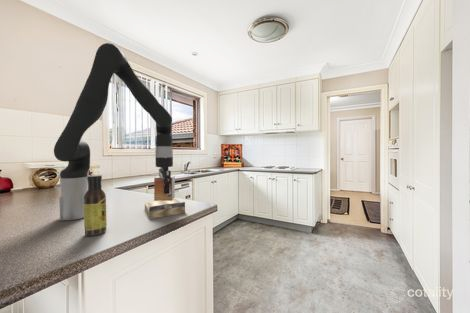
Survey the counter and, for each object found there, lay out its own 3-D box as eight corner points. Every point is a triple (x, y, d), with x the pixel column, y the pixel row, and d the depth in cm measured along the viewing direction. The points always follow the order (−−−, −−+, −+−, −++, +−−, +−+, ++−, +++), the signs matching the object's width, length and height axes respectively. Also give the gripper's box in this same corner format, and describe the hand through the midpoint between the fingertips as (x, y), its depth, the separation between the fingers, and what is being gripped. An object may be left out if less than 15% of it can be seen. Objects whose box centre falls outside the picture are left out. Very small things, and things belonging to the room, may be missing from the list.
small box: (154, 201, 89) (153, 177, 89) (157, 198, 95) (157, 176, 94) (172, 200, 90) (172, 177, 89) (175, 197, 95) (174, 175, 95)
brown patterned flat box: (149, 218, 83) (149, 207, 83) (144, 209, 97) (144, 199, 97) (185, 212, 91) (185, 202, 91) (176, 204, 105) (175, 195, 105)
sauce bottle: (106, 234, 68) (105, 175, 67) (83, 238, 65) (82, 177, 64) (106, 228, 73) (105, 174, 73) (85, 231, 70) (83, 175, 69)
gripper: (152, 156, 96) (153, 190, 96) (158, 156, 83) (159, 196, 84) (169, 156, 100) (169, 188, 100) (176, 156, 87) (177, 194, 88)
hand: (164, 192), depth 92 cm, fingers closed on small box, 7 cm apart
